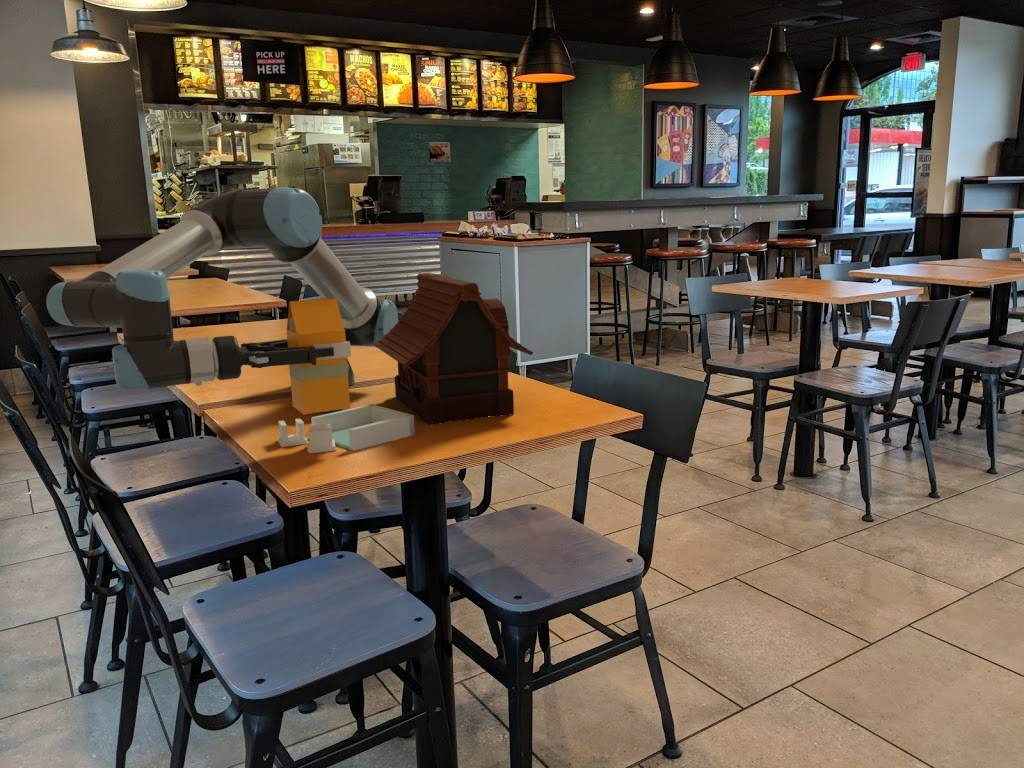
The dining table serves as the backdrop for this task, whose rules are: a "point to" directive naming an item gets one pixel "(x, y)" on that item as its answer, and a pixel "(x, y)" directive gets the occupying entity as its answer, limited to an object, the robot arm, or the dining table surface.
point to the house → (452, 352)
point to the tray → (367, 426)
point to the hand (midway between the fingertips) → (342, 346)
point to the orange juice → (328, 377)
